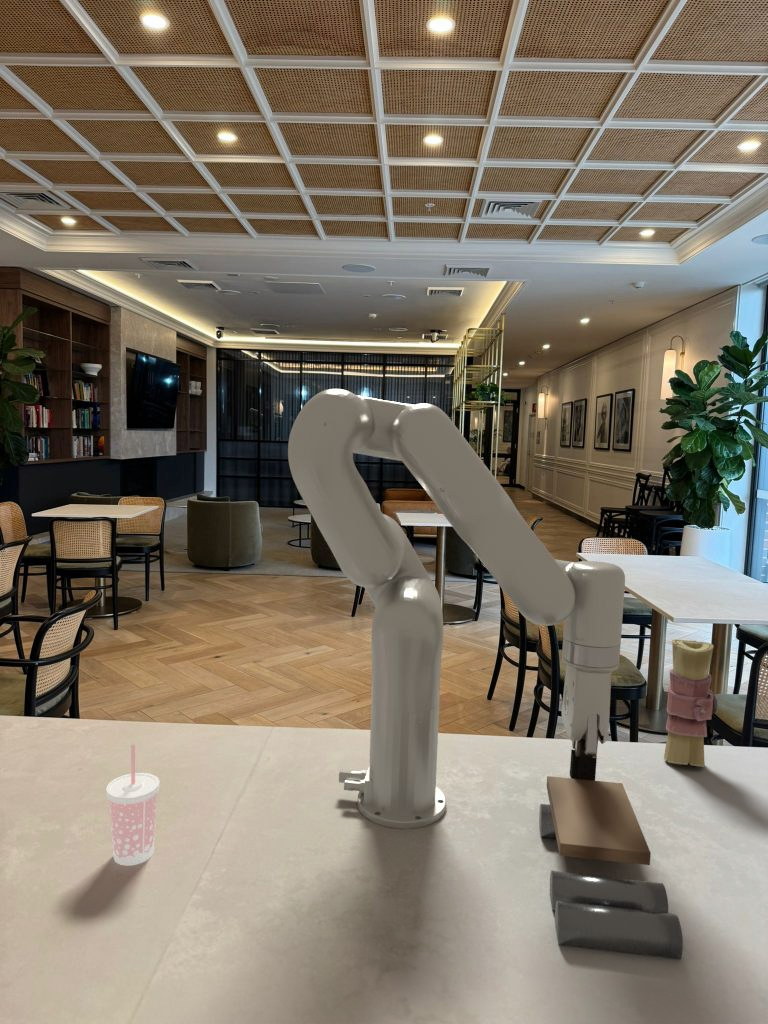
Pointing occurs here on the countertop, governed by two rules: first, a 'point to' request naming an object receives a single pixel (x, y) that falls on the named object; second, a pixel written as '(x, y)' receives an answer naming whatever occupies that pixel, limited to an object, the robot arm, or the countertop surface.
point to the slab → (595, 821)
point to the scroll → (689, 702)
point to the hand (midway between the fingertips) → (582, 780)
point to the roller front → (607, 892)
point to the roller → (618, 929)
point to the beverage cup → (133, 815)
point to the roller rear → (546, 822)
